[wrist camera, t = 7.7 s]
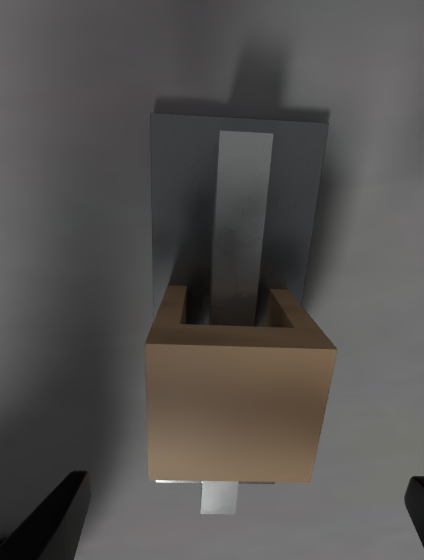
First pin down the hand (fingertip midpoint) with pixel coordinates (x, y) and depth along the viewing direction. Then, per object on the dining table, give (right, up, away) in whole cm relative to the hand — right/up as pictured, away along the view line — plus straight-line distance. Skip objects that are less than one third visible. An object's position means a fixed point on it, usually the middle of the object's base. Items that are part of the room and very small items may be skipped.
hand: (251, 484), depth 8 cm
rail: (0, +3, +9) cm, 9 cm away
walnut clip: (0, +2, +8) cm, 9 cm away
